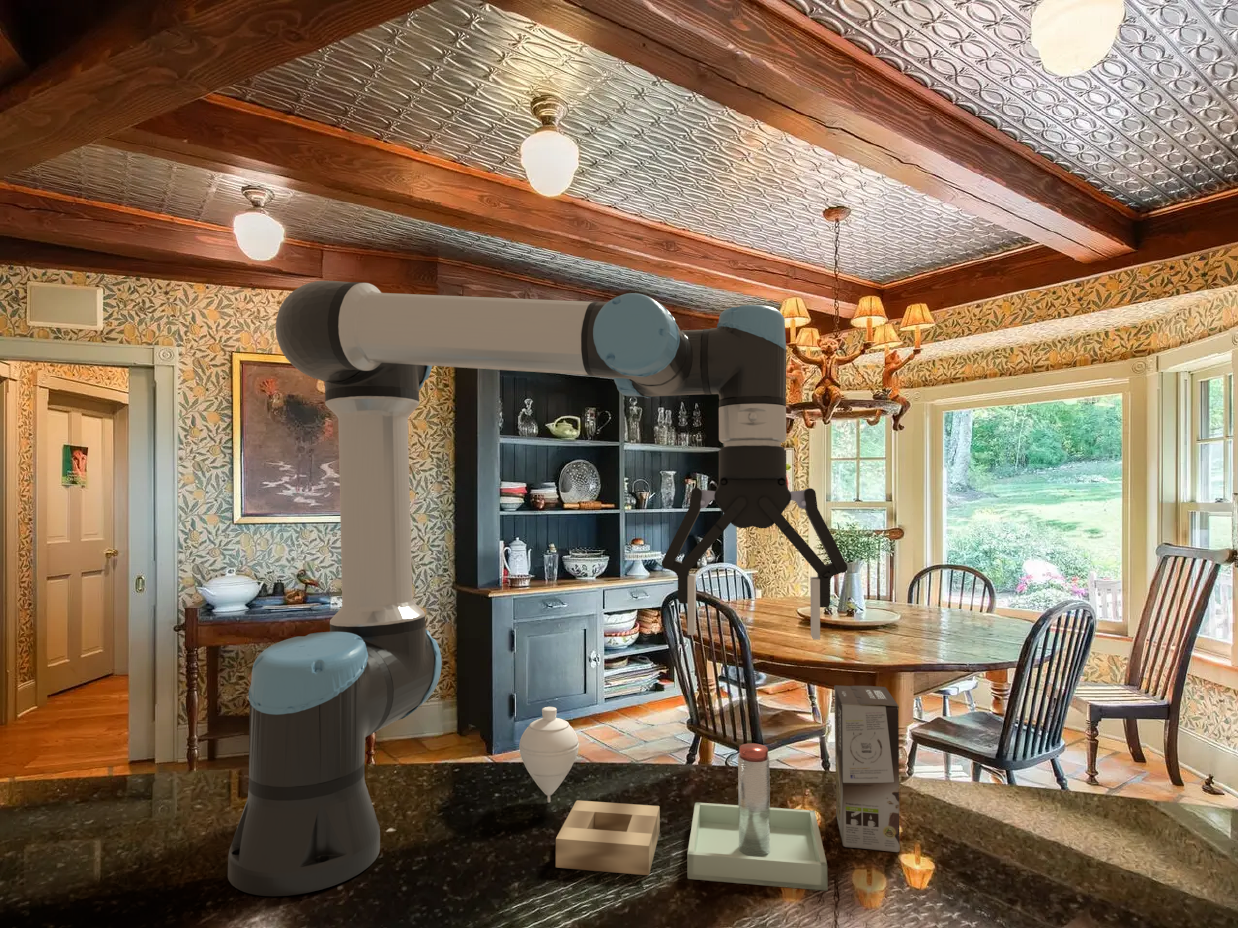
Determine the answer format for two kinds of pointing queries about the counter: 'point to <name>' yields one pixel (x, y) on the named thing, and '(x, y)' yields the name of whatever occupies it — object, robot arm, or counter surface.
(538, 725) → the spinning top
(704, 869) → the tray
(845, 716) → the coffee box
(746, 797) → the pin
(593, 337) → the robot arm
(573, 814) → the block
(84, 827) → the counter surface
